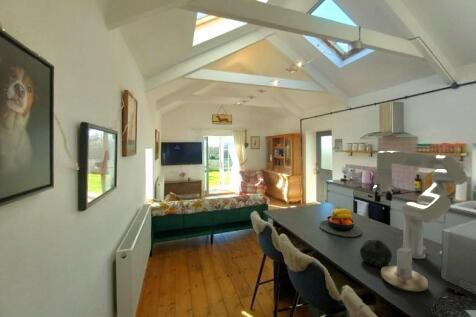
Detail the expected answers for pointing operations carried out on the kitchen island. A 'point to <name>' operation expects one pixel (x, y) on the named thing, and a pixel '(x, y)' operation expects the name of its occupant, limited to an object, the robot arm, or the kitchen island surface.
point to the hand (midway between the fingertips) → (383, 201)
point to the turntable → (404, 279)
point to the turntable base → (403, 289)
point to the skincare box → (404, 261)
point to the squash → (376, 253)
